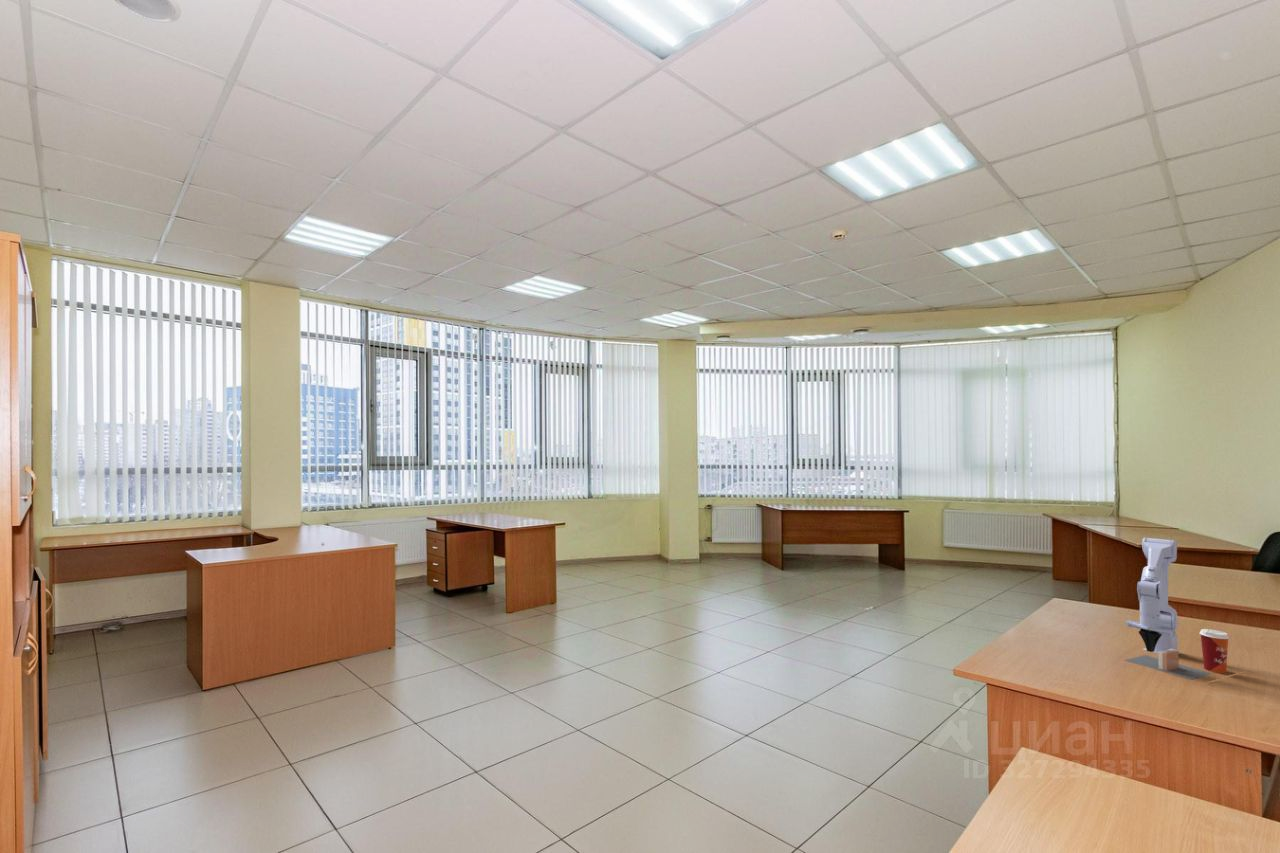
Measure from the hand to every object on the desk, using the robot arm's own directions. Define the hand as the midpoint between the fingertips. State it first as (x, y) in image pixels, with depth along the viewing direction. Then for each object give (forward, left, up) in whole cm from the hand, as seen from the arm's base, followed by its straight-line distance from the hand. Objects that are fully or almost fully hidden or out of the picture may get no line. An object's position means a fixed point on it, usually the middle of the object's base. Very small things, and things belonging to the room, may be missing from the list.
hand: (1150, 651), depth 218 cm
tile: (0, +5, -4) cm, 7 cm away
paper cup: (-13, +13, -5) cm, 19 cm away
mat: (-1, +4, -5) cm, 7 cm away
